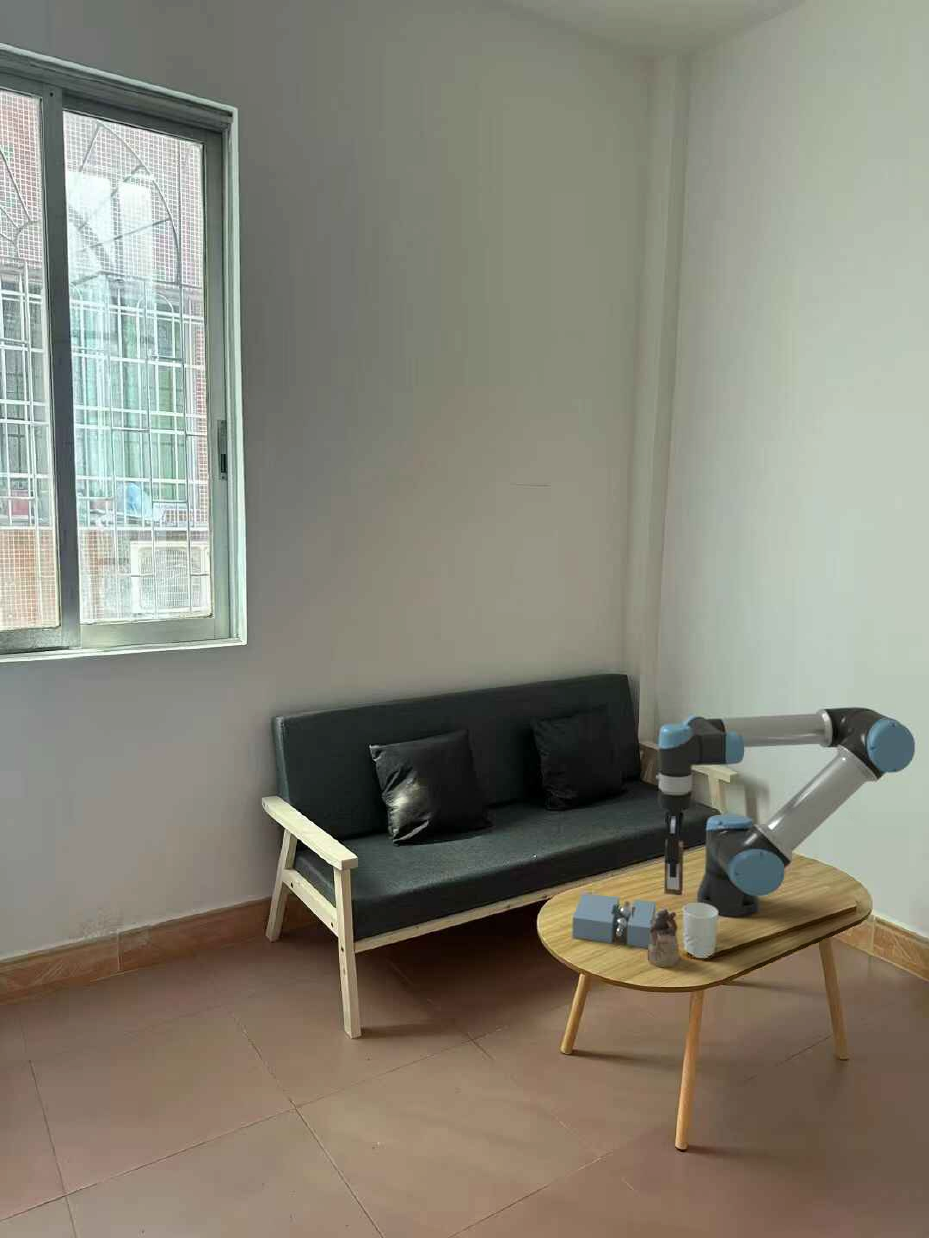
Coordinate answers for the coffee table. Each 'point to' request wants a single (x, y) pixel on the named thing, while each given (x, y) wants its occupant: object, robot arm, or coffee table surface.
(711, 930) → the white cup
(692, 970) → the coffee table surface
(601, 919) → the socket board
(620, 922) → the plunger
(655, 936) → the figurine
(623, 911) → the plunger
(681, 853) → the peg
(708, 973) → the coffee table surface
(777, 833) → the robot arm
